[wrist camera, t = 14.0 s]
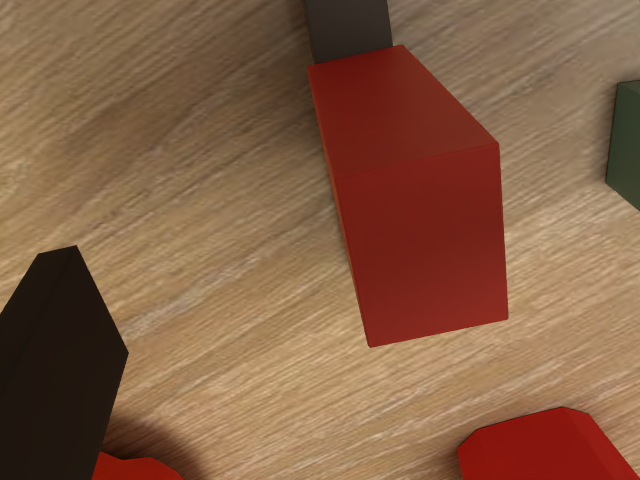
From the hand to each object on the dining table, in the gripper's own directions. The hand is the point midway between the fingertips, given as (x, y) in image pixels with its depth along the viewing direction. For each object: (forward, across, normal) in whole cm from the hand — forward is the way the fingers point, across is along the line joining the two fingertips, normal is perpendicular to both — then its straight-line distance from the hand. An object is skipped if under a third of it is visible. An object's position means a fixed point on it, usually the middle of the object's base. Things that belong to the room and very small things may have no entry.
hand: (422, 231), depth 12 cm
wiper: (+11, 0, 0) cm, 11 cm away
